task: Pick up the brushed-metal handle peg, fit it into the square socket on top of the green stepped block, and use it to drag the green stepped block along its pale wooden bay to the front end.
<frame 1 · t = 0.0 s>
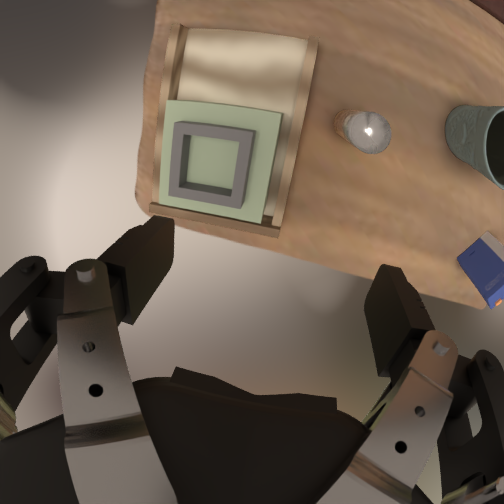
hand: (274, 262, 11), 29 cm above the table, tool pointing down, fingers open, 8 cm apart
teal cup: (465, 133, 30), on the table
walkman: (473, 248, 38), on the table
green stepped block: (217, 157, 33), point 5 cm above the table, slide at 10.0 cm
handle: (348, 124, 33), on the table
bay: (232, 122, 35), on the table
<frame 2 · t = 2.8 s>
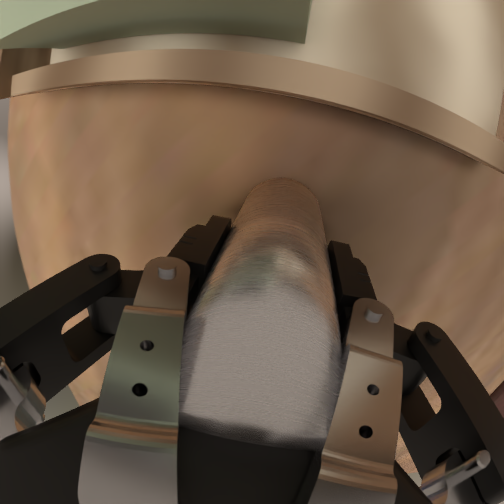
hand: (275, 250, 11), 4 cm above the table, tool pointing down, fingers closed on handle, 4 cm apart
handle: (281, 215, 15), on the table, touching gripper
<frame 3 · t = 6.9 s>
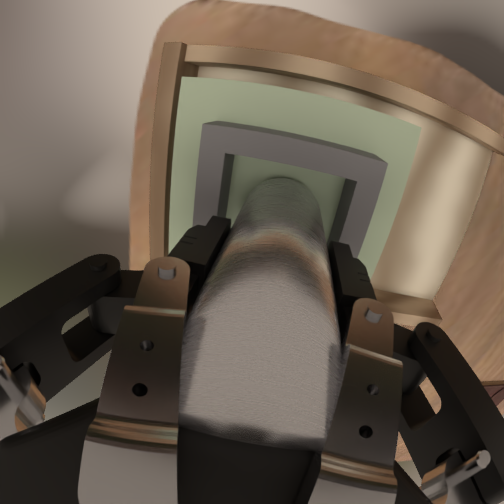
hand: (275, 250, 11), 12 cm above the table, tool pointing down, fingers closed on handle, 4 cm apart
notebook: (462, 410, 36), on the table
green stepped block: (283, 198, 17), point 5 cm above the table, slide at 10.0 cm
handle: (281, 215, 15), point 8 cm above the table, touching gripper
bay: (335, 188, 22), on the table
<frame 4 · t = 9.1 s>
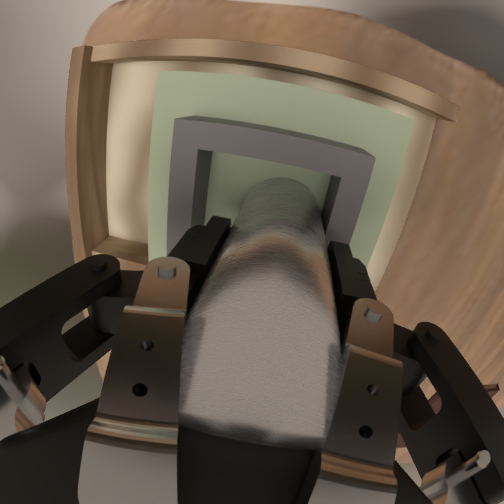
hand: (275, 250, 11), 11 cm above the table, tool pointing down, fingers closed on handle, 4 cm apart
notebook: (438, 415, 36), on the table
green stepped block: (266, 196, 16), point 5 cm above the table, slide at 3.9 cm, touching handle
handle: (281, 215, 15), point 7 cm above the table, touching green stepped block, gripper
bay: (245, 169, 21), on the table
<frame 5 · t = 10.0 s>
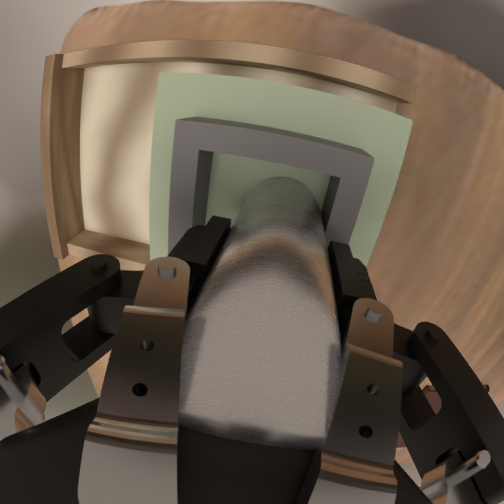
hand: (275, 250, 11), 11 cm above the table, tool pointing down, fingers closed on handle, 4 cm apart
notebook: (425, 415, 36), on the table
green stepped block: (266, 197, 16), point 5 cm above the table, slide at 0.6 cm
handle: (281, 215, 15), point 8 cm above the table, touching gripper
bay: (204, 162, 21), on the table
when the fingers open (11 cm above the table, at t = 11.2 s): handle stays where it is, resting on green stepped block.
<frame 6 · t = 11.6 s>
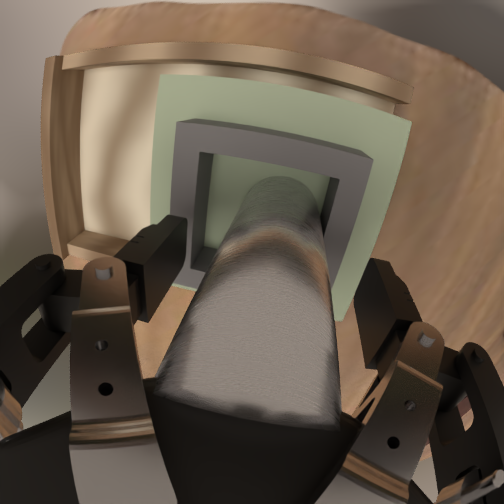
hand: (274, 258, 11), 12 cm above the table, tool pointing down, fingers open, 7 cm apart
green stepped block: (266, 198, 17), point 5 cm above the table, slide at 0.5 cm, touching handle
handle: (280, 212, 15), point 7 cm above the table, touching green stepped block
bay: (203, 163, 22), on the table
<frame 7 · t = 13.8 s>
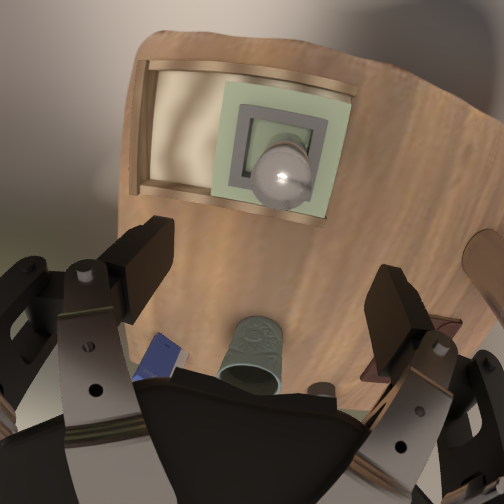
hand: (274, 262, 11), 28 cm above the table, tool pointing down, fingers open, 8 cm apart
notebook: (409, 348, 50), on the table
teal cup: (258, 331, 51), on the table
walkman: (171, 344, 57), on the table
green stepped block: (278, 146, 30), point 5 cm above the table, slide at 0.5 cm, touching handle
candle holder: (321, 389, 58), on the table
handle: (286, 151, 28), point 7 cm above the table, touching green stepped block
bay: (238, 133, 35), on the table
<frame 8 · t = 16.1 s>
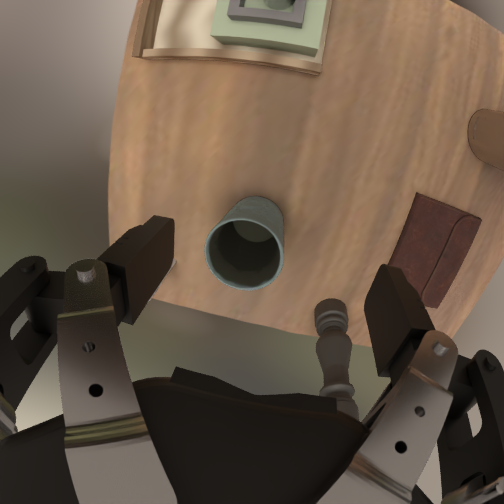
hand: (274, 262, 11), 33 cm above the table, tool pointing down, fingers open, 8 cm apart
notebook: (428, 253, 45), on the table
teal cup: (255, 219, 46), on the table
green stepped block: (272, 0, 25), point 5 cm above the table, slide at 0.5 cm, touching handle
candle holder: (330, 310, 53), on the table
bay: (237, 9, 30), on the table
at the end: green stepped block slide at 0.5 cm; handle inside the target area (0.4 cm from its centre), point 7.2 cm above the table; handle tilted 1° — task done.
